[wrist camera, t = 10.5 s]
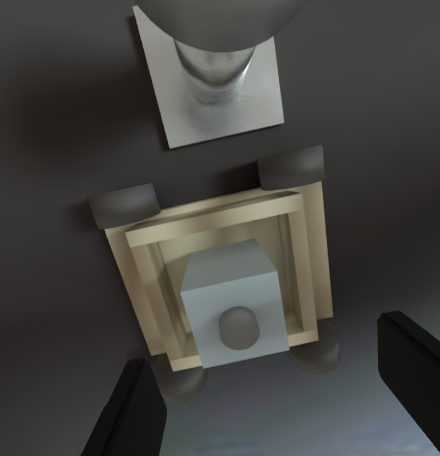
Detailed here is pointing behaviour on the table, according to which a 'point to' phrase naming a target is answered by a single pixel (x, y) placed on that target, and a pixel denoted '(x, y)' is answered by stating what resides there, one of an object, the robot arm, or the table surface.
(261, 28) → the wheel hub
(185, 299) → the block
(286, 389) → the table surface
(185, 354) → the birch chassis
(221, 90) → the grey square pedestal base
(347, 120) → the table surface
